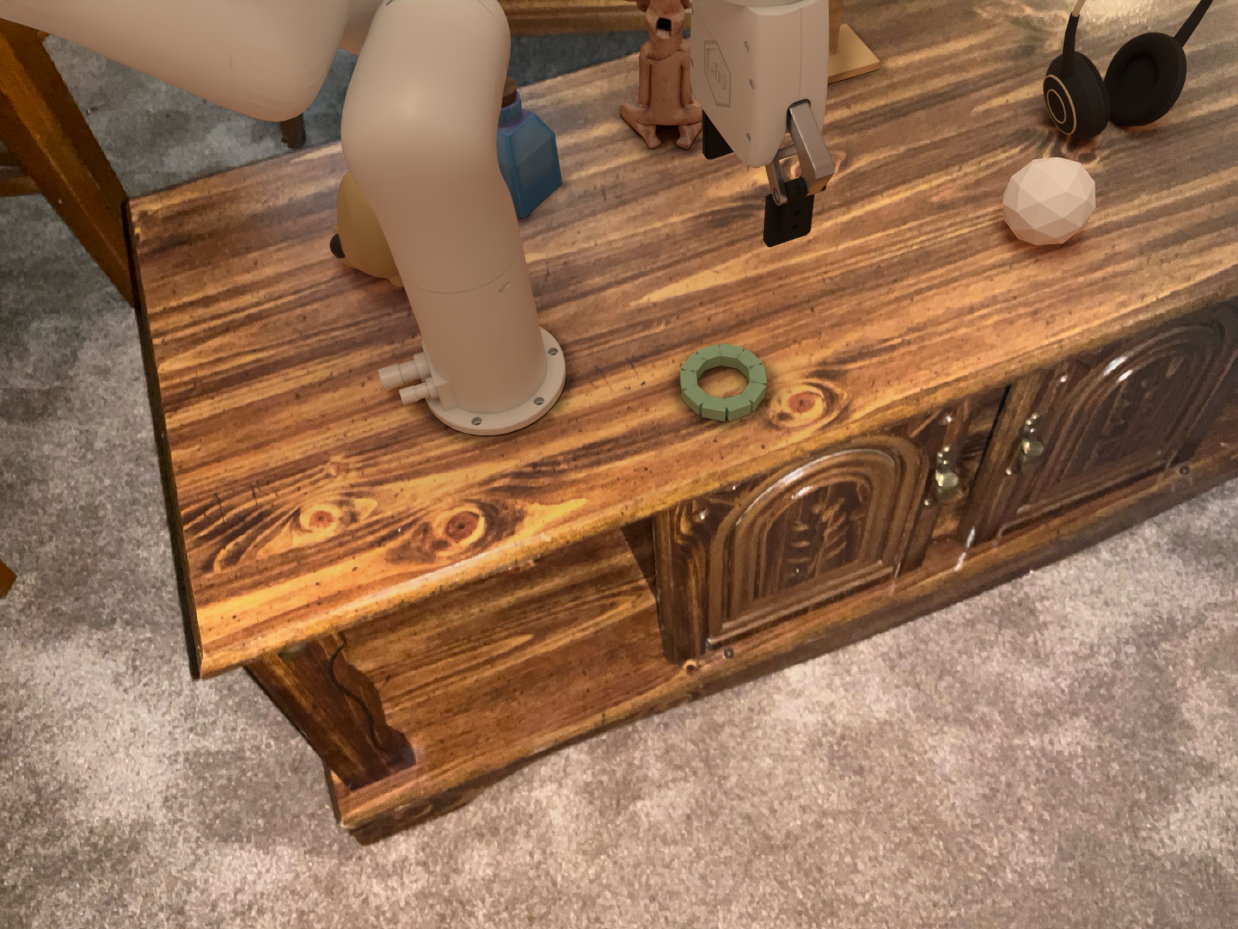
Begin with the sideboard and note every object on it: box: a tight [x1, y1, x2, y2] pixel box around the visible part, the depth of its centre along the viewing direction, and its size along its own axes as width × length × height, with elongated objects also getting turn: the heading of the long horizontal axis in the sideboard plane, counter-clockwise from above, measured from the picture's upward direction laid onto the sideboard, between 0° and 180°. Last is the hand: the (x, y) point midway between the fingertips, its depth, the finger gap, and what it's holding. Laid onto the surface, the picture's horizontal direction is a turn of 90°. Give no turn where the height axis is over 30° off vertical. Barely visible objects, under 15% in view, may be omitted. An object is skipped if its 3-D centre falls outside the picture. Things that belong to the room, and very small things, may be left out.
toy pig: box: [329, 171, 404, 288], centre depth 90 cm, size 10×12×11 cm
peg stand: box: [827, 0, 881, 85], centre depth 102 cm, size 8×8×11 cm
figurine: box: [619, 0, 702, 150], centre depth 94 cm, size 10×8×20 cm
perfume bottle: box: [496, 76, 563, 220], centre depth 93 cm, size 6×6×12 cm
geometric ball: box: [1002, 156, 1097, 246], centre depth 86 cm, size 8×8×8 cm
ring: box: [679, 342, 768, 422], centre depth 82 cm, size 7×7×1 cm
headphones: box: [1042, 0, 1214, 141], centre depth 89 cm, size 9×15×20 cm, turn 105°
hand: (754, 193), depth 66 cm, fingers open, 9 cm apart
